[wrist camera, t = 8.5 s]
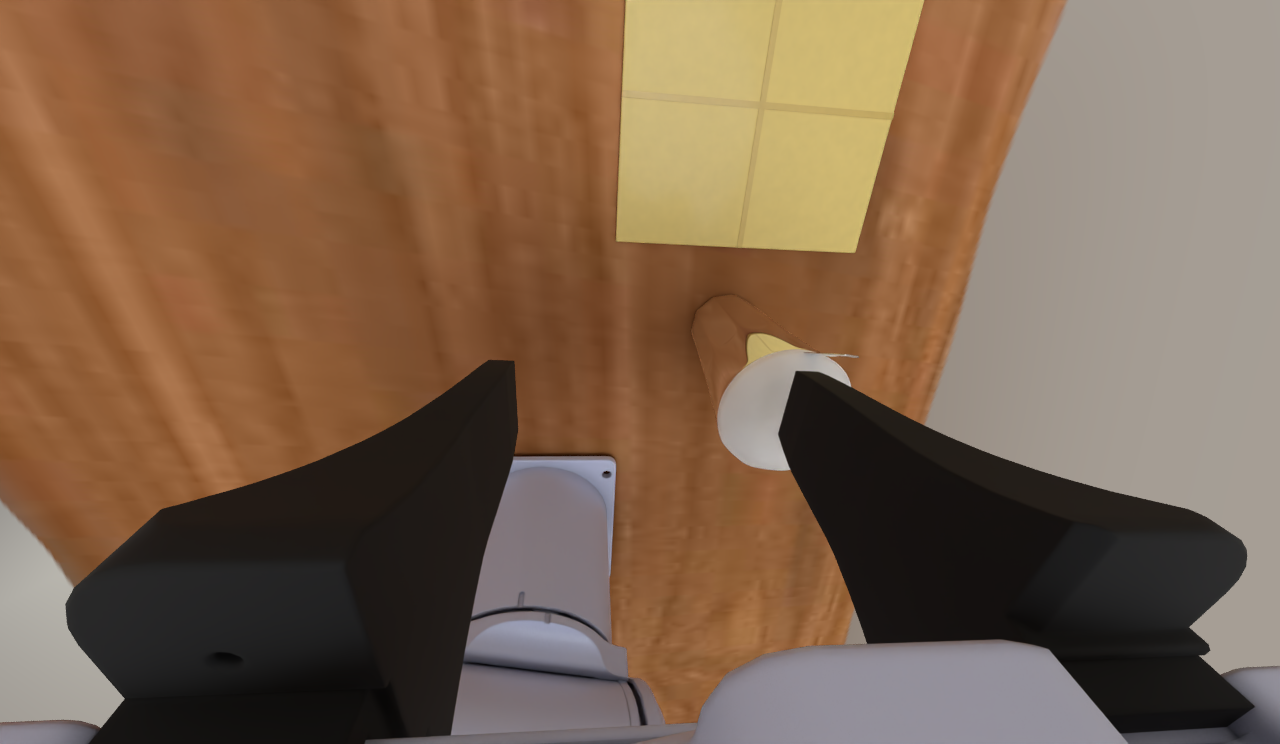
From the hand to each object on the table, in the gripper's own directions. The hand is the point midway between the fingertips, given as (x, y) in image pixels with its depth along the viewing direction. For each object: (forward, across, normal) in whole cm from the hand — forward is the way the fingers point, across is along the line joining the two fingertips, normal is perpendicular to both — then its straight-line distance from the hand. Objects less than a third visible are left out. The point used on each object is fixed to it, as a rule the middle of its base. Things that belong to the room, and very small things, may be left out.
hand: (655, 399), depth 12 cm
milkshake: (+11, -5, +2) cm, 12 cm away
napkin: (+11, -5, -7) cm, 14 cm away
